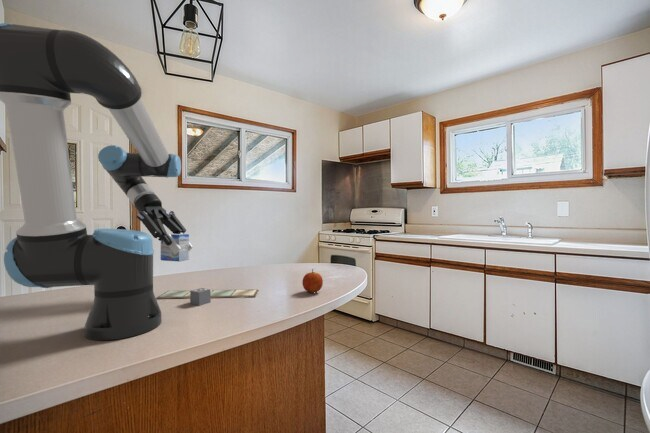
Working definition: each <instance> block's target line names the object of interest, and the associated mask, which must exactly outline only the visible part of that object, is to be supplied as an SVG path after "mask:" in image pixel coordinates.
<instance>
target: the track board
mask: <svg viewBox="0 0 650 433" xmlns="http://www.w3.org/2000/svg"><path fill="white" fill-rule="evenodd" d="M258 289H259V288H258ZM258 289H257V288H255V289H253V288H252V289H210V299H228V298H229V299H231V298H233V299H234V298H235V297H244V298H256V296H257V295H258V293H259V291H260V289H259V290H258ZM190 291H192V289H191V290H187V289H186V290H167V291H165V292H163V293H162V294H160V295H158V296H157V297H155V298H156V300H171V299H172V300H173V299H174V300H176V299H177V300H178V299H179V300H180V299H185V300H186V299H190ZM257 292H258V293H257ZM256 294H257V295H256ZM235 299H236V298H235Z"/></svg>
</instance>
